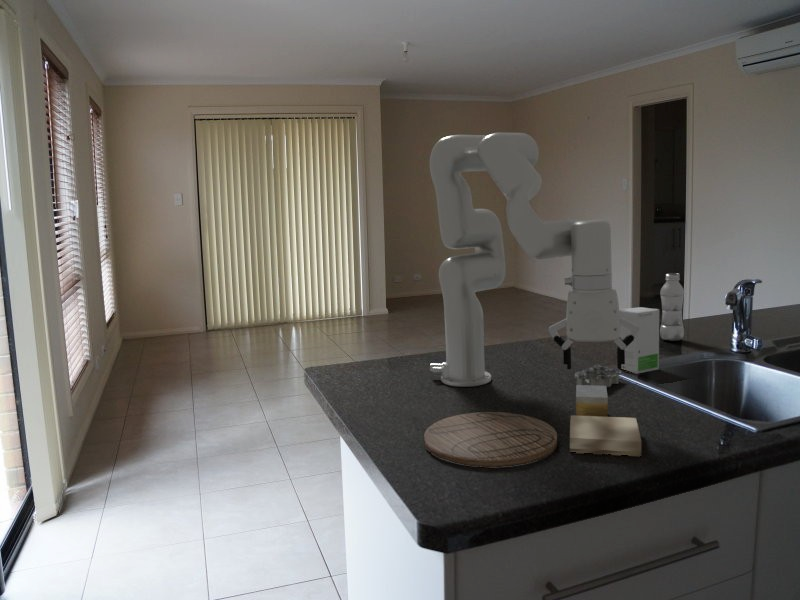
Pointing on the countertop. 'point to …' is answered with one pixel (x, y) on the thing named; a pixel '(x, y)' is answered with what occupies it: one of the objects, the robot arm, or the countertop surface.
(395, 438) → the countertop surface
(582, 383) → the egg carton
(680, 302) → the plastic bottle
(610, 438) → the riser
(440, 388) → the countertop surface
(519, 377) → the countertop surface
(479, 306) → the robot arm
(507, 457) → the trivet
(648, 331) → the skincare box
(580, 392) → the block
